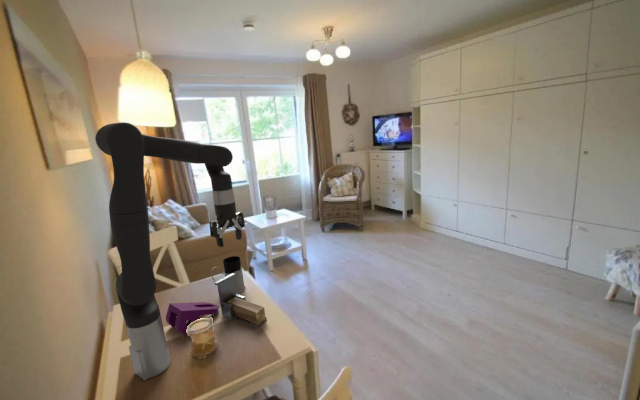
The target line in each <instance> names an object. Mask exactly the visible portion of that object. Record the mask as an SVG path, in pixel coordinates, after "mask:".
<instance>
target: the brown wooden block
mask: <svg viewBox="0 0 640 400" xmlns="http://www.w3.org/2000/svg"><path fill="white" fill-rule="evenodd" d="M245 300H246V299H245ZM245 300H243V299H240V298H237V297H235V298H233V299H231V300H230V301H228V304H231V305H232V309H233V315H235V316H237V317H238V318H241V319H243V320H246V321H248V322H249V323H251V322H252V323H255V324H257V325H258V324H260V323H261V322H262V321H264V320H265V319H266V318H267V317H266V311H265V307H264V306H262V305H259V304H257V303H253V302H251V301H248V300H246V301H245ZM265 317H266V318H265ZM265 321H266V320H265ZM265 321H264V322H265ZM260 325H261V324H260Z"/></svg>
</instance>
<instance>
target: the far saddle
mask: <svg viewBox="0 0 640 400" xmlns="http://www.w3.org/2000/svg"><path fill="white" fill-rule="evenodd" d="M265 318H266V319H267V320H268V318H267V316H265ZM266 319H265V320H264V321H262V322H263V323H264V322H265V321H267V320H266ZM262 322H261V323H262ZM261 323H260V324H258V325H257V324H255V323H252V322H249V327H251V326H252V328H254V329H256V328H258V327H259V326H260V325H262V324H263V323H262V324H261Z"/></svg>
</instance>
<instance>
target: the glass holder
mask: <svg viewBox="0 0 640 400" xmlns="http://www.w3.org/2000/svg"><path fill="white" fill-rule="evenodd" d="M222 261H223V262H222V263H223V269H224V270H223V271H224V272H222V269H221V268H220V267H219V266H214V267H212V268H211V270H210V276H211V279H212V280H213V281H214V283H215V282H216V280H215V278H214V277H213V270H214V269H216V268H218V269H219V273H220V274H221V275H224V277H226V276H228V275H230V274H231V273H234V274H235V276H234V277H233V279H234V286H235V293H236V294H241V293H243V292H244V291H245V290H246V286H245V281H244V280H245V279H244V275H243V266H242V262H241V257H240V256H237V255H232V256H228V257H226V258H224V259H223V260H222ZM242 291H243V292H242Z"/></svg>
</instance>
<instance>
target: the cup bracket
mask: <svg viewBox="0 0 640 400" xmlns="http://www.w3.org/2000/svg"><path fill="white" fill-rule="evenodd" d="M234 276H235V274H234V273H231V274H230V275H228V276H226V277H225V276H224V277H222V278H221V279H218V280H217V281H216V280H215V281H216V282H215V281H214V285H216V286H217V290H218V291H217V292H218V297H219V303H220V305H219V306H220V310H221V315H222V317H223V318H225V319H227V320H230V321H233V320H234V319H236V318H237V317H238V316H235V315H233V309H232V305H231V304H228V301H230V300H231V299H233V298H235V297H237V298H240V299H243V300H245V301H247V300H246V296H245V295H241V294H240V293H238V294H236V293H235V286H234V279H233V277H234Z"/></svg>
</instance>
